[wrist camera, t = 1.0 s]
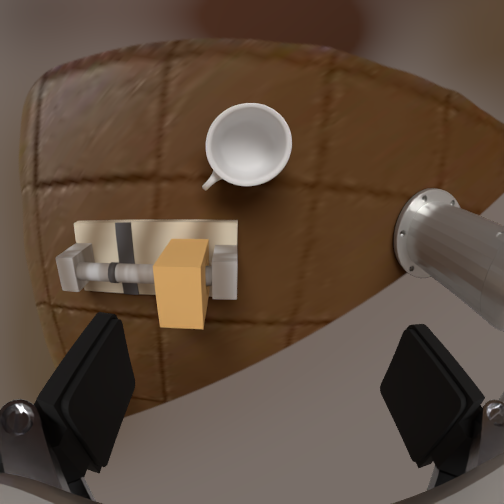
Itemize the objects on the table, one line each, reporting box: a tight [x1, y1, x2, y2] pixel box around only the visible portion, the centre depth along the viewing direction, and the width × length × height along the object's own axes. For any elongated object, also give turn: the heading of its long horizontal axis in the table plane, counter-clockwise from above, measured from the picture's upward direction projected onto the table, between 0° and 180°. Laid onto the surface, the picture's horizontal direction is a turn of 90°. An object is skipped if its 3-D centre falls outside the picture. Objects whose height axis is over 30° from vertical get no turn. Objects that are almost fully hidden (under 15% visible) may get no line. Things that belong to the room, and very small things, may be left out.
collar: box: [153, 239, 210, 329], centre depth 27 cm, size 4×6×8 cm, turn 178°
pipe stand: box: [56, 220, 238, 300], centre depth 30 cm, size 20×9×6 cm, turn 88°
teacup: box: [202, 103, 292, 190], centre depth 27 cm, size 10×8×5 cm
